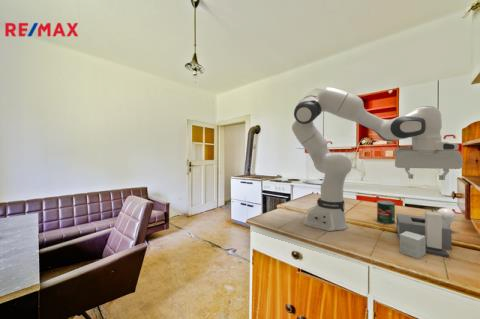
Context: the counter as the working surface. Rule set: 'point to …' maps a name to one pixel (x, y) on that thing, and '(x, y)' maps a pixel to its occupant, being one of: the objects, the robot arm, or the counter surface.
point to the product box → (412, 244)
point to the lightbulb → (447, 215)
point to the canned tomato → (386, 212)
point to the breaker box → (421, 228)
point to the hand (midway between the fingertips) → (425, 179)
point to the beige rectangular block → (433, 231)
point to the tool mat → (438, 252)
